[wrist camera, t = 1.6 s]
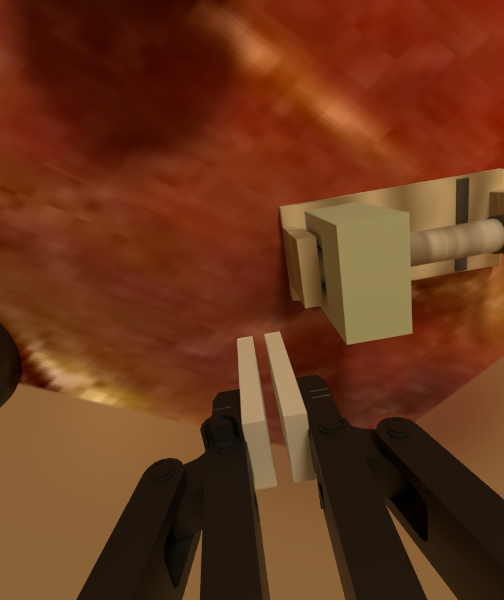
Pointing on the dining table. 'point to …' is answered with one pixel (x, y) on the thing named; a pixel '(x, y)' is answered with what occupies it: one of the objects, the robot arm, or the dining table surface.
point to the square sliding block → (364, 269)
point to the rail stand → (411, 229)
